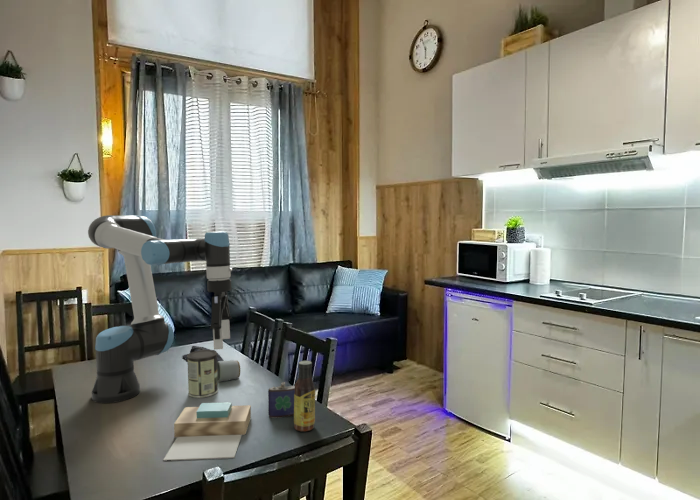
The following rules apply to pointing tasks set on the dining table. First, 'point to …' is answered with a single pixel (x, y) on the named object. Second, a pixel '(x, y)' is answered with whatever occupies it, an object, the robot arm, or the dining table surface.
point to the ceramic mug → (228, 370)
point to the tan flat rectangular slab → (212, 423)
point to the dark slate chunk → (196, 348)
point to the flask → (281, 401)
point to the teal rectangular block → (214, 410)
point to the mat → (203, 447)
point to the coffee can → (202, 373)
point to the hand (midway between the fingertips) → (222, 343)
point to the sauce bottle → (304, 398)
